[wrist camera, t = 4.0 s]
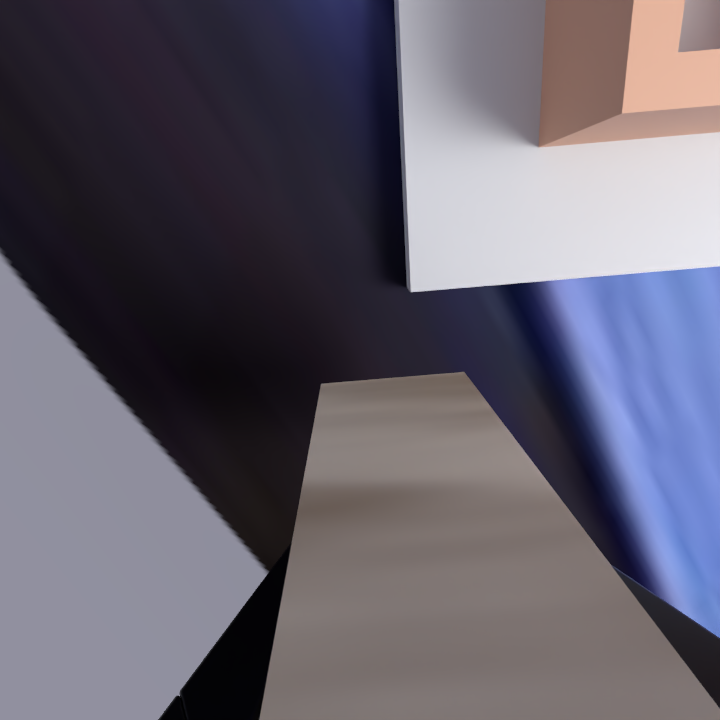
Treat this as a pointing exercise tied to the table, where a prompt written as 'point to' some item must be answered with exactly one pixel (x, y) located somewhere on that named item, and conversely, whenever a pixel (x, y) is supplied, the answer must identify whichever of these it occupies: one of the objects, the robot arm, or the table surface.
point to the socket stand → (557, 138)
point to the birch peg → (453, 578)
